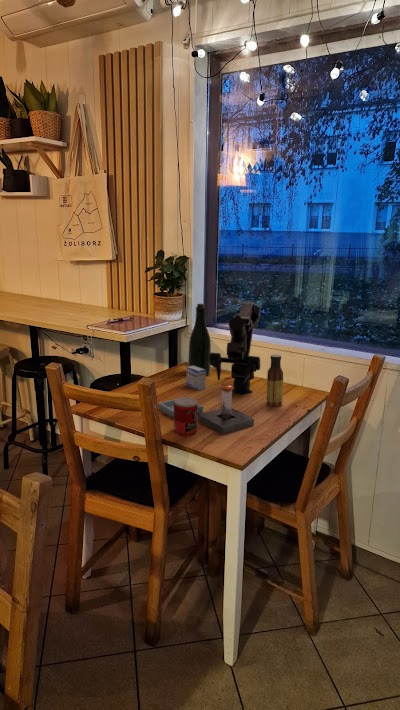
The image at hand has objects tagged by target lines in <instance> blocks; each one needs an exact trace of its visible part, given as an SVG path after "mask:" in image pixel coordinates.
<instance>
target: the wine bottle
mask: <svg viewBox="0 0 400 710" xmlns="http://www.w3.org/2000/svg"><path fill="white" fill-rule="evenodd" d="M196 304H197V305H196V307H195V321H194V322H195V323H194V327H193V330H192V331H191V334H190V336H189V342H188V360H187V363H188V365H187V367H189V366H196V367H199V368H202V369H205V370H206V376H208V375H210V374H211V365H210V362H209V354H210V353H211V351H212V350H211V347H212V345H211V337H210V334H209V330H208V328H207V323H206V321H207V320H206V306H205V303H196Z"/></svg>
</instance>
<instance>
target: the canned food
mask: <svg viewBox="0 0 400 710" xmlns="http://www.w3.org/2000/svg"><path fill="white" fill-rule="evenodd" d="M173 400H174V399H173ZM197 404H199V403H198V400H197V399H196V398H193V397H189V396H181V397H177V398H175V400H174V418H173V431H174V433H175V434H176V435H177V436H181V437H189V436H193V435H196V433H197V431H198V430H197V429H198V414H197V407H198V406H197Z"/></svg>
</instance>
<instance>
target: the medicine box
mask: <svg viewBox="0 0 400 710" xmlns="http://www.w3.org/2000/svg"><path fill="white" fill-rule="evenodd" d="M185 374H186V377H185V381H186V382H185V386H186V387H188V388H190V387H191V388H190V389H193V388H194V389H193V390H196V391H201V390H204V389H206V379H207V377H206V376H207V375H206V370H205V369H202V368H199V367H196V366H189V367H188V366H187V367H186V373H185Z"/></svg>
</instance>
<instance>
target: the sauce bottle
mask: <svg viewBox="0 0 400 710" xmlns="http://www.w3.org/2000/svg"><path fill="white" fill-rule="evenodd" d="M281 360H282V355H281V354H278V353H277V354H276V353H275V354H271V355H270V367H269V369H268V370H267V374H266V375H267V379H266V404H267V405H269V406H271V407H279V406H282V405H283V401H284V400H283V398H284V395H283V394H284V372H283V369H282V367H281V366H282V365H281Z"/></svg>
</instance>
